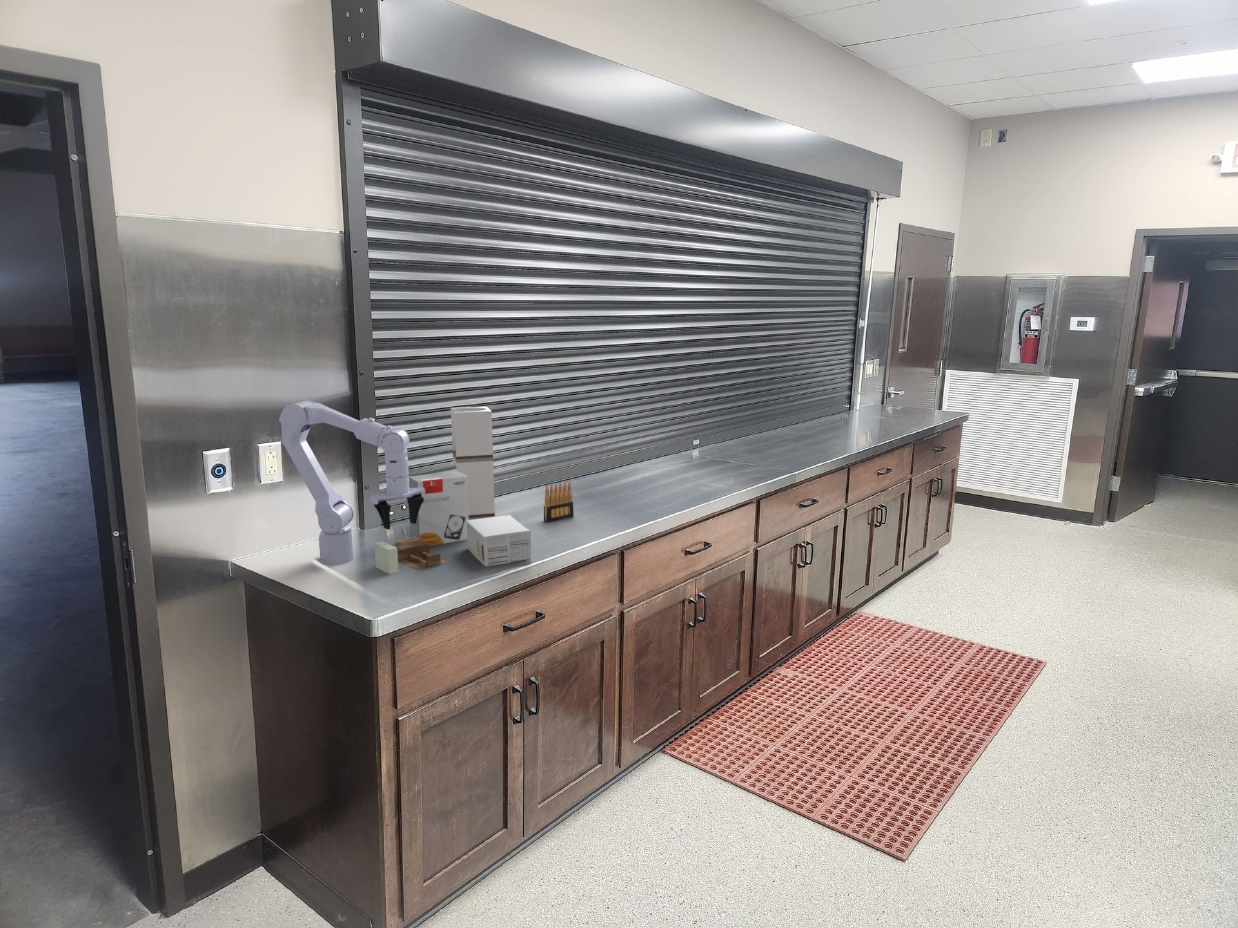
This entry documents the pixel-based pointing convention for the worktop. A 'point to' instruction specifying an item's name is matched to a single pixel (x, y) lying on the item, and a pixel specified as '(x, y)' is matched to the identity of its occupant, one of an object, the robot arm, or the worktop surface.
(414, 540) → the offcut upper
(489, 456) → the tall banded white pillar
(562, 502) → the ammunition clip
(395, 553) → the panel
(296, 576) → the worktop surface
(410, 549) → the rack
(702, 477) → the worktop surface
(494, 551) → the supplement box
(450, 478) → the hard drive box
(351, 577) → the worktop surface
